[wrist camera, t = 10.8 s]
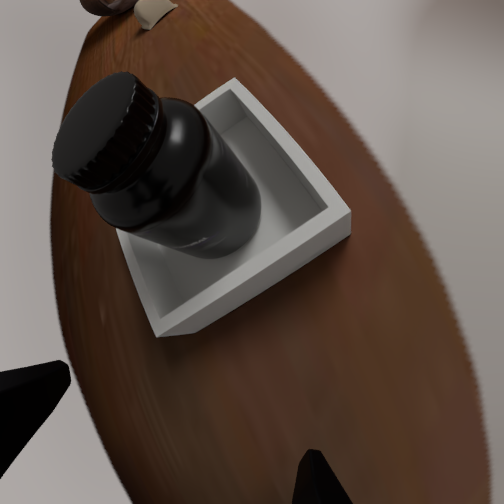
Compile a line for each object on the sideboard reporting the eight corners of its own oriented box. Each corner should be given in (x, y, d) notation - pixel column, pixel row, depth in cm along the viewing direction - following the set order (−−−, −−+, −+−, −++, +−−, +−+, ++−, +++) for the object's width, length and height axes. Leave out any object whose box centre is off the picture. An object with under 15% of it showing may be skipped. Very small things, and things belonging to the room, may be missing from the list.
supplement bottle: (207, 282, 19) (47, 246, 8) (162, 212, 21) (32, 145, 10) (286, 213, 18) (190, 85, 7) (228, 150, 20) (127, 38, 9)
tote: (350, 233, 17) (351, 211, 13) (194, 333, 20) (156, 337, 15) (254, 112, 22) (234, 77, 17) (138, 201, 24) (103, 182, 20)
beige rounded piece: (138, 30, 33) (120, 12, 28) (172, 1, 33) (157, -18, 28) (149, 30, 32) (131, 10, 27) (185, 0, 31) (170, -20, 26)
